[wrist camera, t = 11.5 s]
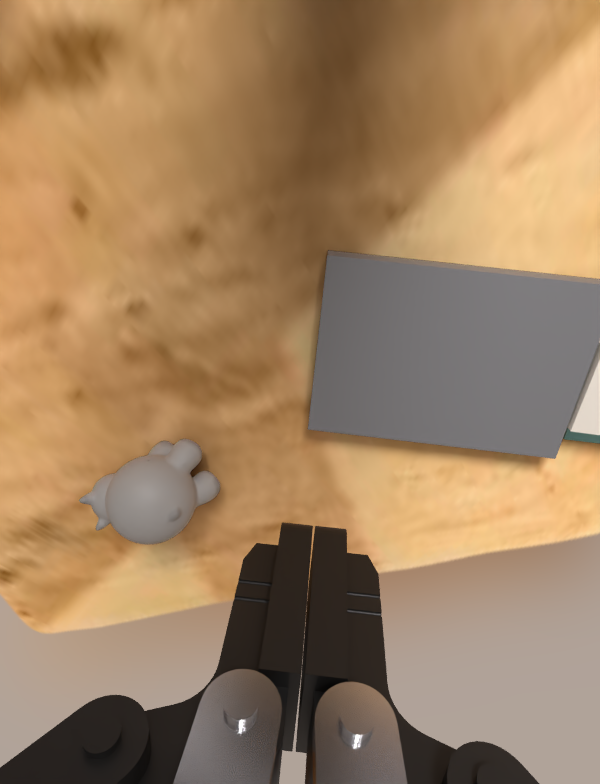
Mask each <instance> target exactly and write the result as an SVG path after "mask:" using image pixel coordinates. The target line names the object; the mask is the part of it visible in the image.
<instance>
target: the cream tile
mask: <svg viewBox="0 0 600 784" xmlns="http://www.w3.org/2000/svg"><path fill="white" fill-rule="evenodd" d="M567 428H568V429H569V430H570V431H572V432H579V433H587V434H594V435H600V341H599V344H598V346H597V349H596V352H595V354H594V357H593V360H592V362H591V365H590V368H589V370H588V373H587V376H586V378H585V381H584V384H583V386H582V389H581V392H580V394H579V397H578V400H577V402H576V405H575V408H574V410H573V413H572V416H571V418H570V421H569V423H568V426H567Z"/></svg>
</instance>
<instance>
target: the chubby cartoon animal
mask: <svg viewBox="0 0 600 784" xmlns="http://www.w3.org/2000/svg"><path fill="white" fill-rule="evenodd" d="M201 459H202V450H201V448H200V446H199V445H198V444H197V443H195V442H194V441H192V440H189V439H181V440H179V441H178V442H177V443H176V444H175V445H173V444H172V443H170V442H168V441H161V442H159V443H157V444H156V445H155V446H154V447H153V448H152V449H151V451H150V452H149V454H148V455H146V456H141V457H138V458H135V459H133V460H131V461H129V462H128V463H126V464H125V465H123V466H122V467H121V468H120V469H119V470H118V471H117V472H116V473H112V474H108V475H106V476H104V477H102V478H101V479H100V480H98V481H97V483H96V484H95V486H94V487H93V490H92V491H91V492H90V493H88V494H86V495H85V496H83V497H82V498H81V499H80V500H79V501H80V502H81V503H84V504H89V505H91V506H92V509H93V511H94V512H95V514H96V515H97V516H98V518H99V520H98V523H97V526H96V530H100V529H102V528H104V527H106V526H107V525H108V524H109V523H111V525H112V526H113V528H114V529H115V530H116V531H117V532H118V533H119V534H120V535H121V536H123V537H124V538H126V539H128V540H130V541H132V542H135V543H139V544H157V543H161V542H164V541H167V540H169V539H171V538H173V537H174V536H176V535H177V534H179V533H180V532H181V531H182V530H183V529H184V528H185V527H186V525H187V524H188V523H189V521H190V519H191V518H192V515H193V513H194V510H195V508H196V507H198V506H200V505H203V504H205V503H207V502H209V501H211V500H212V499H214V498H215V497H216V496H217V495H218V493H219V491H220V482H219V480H218V479H217V478H216V477H215V476H214V475H213V474H212V473H211V472H209V471H201V472H199V473H198V474H196V475H195V476H194V477H192V476H191V475H190V472H191V471H192V470H193V469H194V468H195V467H196V466H197V465H198V463H199V462H200V461H201Z"/></svg>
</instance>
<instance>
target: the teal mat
mask: <svg viewBox="0 0 600 784" xmlns="http://www.w3.org/2000/svg"><path fill="white" fill-rule="evenodd" d="M563 439H566V440H575V441H583V442H592V443H600V435H594V434H587V433H579V432H572V431H570V430H569V429H568V428H567V429H566V431H565V434H564V437H563Z"/></svg>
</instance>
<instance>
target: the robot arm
mask: <svg viewBox="0 0 600 784" xmlns="http://www.w3.org/2000/svg"><path fill="white" fill-rule="evenodd" d="M312 529H313V526H310V525H301V524H292V523H282V525H281V531H280V538H279V544H278V545H269V544H260V543H256V545H255V546H254V547H253V548H252V550H251V551H250V552H249V553H248V554H247V556H246V557H245V558H244V559H243V564H242V568H241V572H240V576H239V582H238V585H237V589H236V593H235V599H234V602H233V606H232V610H231V614H230V618H229V623H228V627H227V631H226V636H225V639H224V644H223V648H222V652H221V656H220V660H219V664H218V668H217V670H216V673H215V674H214V676H213V678H212V679H211V681H210V682H209V683H208V685H207V686H206V687H205V688H204V689H203V690H202V691H200V692H199V693H198V694H196V695H195V696H193V697H192V698H190V699H188V700H186V701H184V702H181V703H178V704H174V705H170V706H165V707H161V708H156V709H152V710H147V711H144V709H143V708H142V706H141V705H140V704H139V703H138V702H136V701H135V700H133V699H131V698H129V697H126V696H121V695H109V696H104V697H100V698H97V699H95V700H93V701H91V702H89V703H87V704H86V705H84V706H83V707H81V708H80V709H78V710H77V711H76V712H74V713H73V714H72V715H70V716H69V717H68V718H66V719H65V720H64V721H62V722H61V723H60V724H58V725H57V726H56V727H54V728H53V729H52V730H50V731H49V732H47V733H46V734H45V735H43V736H42V737H41V738H39V739H38V740H37V741H35V742H34V743H33V744H31V745H30V746H29V747H27V748H26V749H25V750H23V751H22V752H21V753H19V754H18V755H17V756H15V757H14V758H13V759H11V760H10V761H9V762H7V763H6V764H5V765H3V766H2V767H1V768H0V784H279V777H280V766H281V756H282V750H285V751H292V749H293V740H294V731H295V723H296V714H297V705H298V696H299V688H300V680H301V690H300V703H299V717H298V729H297V742H296V752H303V753H307V759H306V775H305V784H539V783H538V782H537V781H536V780H535V778H534V777H533V776H532V775H531V774H530V773H529V772H528V771H527V770H526V769H525V768H524V766H523V765H522V764H521V763H520V762H519V761H518V760H517V759H515V757H513V756H512V755H511V754H510V753H508V752H507V751H505V750H504V749H502V748H500V747H498V746H496V745H493V744H490V743H486V742H478V741H476V742H469V743H467V744H464V745H462V746H461V747H459V748H458V749H457V750H456V749H454V748H451V747H449V746H447V745H445V744H443V743H441V742H439V741H437V740H435V739H433V738H431V737H429V736H427V735H425V734H423V733H421V732H420V731H418V730H416V729H415V728H414V727H412V726H411V725H410V724H409V723H408V722H407V721H406V720H405V719H404V718H403V717H402V716H401V714H400V713H399V712H398V710H397V709H396V707H395V705H394V703H393V702H392V699H391V697H390V694H389V690H388V684H387V675H386V674H387V673H386V661H385V649H384V637H383V625H382V617H381V601H380V589H379V577H378V573H377V571H376V569H375V567H374V566H373V564H372V562H371V560H370V559H369V557H368V555H361V554H352V553H347V532H346V529H339V528H330V527H320V526H315V533H314V541H313V550H312V559H311V568H310V577H309V567H310V555H311V542H312ZM308 580H309V588H308ZM307 593H308V599H307ZM307 600H308V601H307ZM306 606H307V612H306ZM305 619H306V626H305ZM304 631H305V638H304ZM303 644H304V651H303ZM302 657H303V664H302ZM301 670H302V677H301Z"/></svg>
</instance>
